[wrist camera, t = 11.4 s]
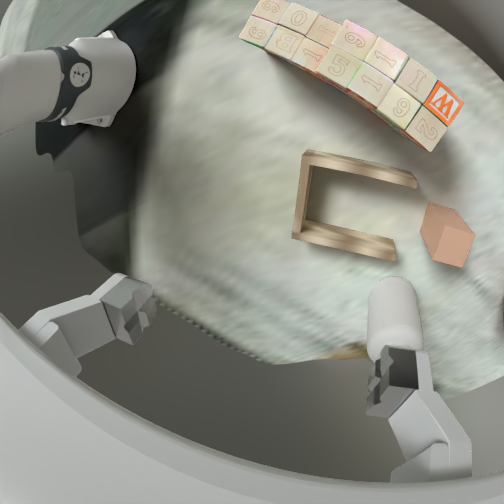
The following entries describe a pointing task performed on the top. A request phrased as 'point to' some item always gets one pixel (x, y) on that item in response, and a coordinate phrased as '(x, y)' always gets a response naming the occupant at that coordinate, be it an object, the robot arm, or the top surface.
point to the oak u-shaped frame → (339, 235)
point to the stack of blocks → (357, 68)
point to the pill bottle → (393, 317)
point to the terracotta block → (446, 235)
